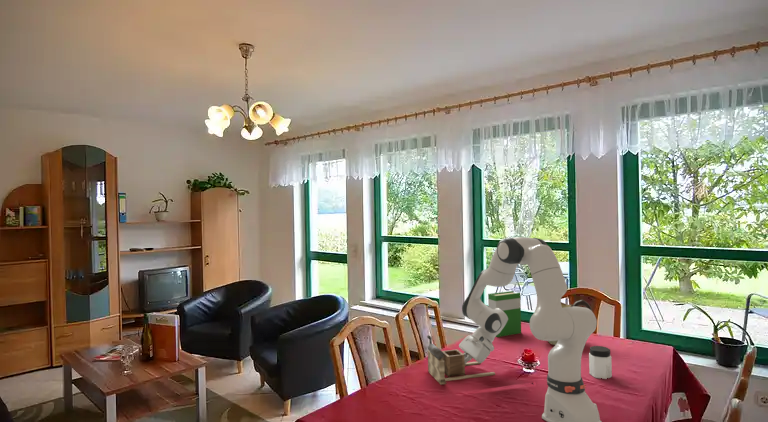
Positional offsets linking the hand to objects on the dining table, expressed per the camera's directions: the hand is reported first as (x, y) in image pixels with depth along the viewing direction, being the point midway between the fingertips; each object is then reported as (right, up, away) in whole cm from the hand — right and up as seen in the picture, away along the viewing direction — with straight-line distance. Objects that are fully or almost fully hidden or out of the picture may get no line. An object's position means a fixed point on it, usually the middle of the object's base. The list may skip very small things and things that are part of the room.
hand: (462, 362), depth 204 cm
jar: (+60, -4, -6) cm, 61 cm away
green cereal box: (+37, -4, +62) cm, 72 cm away
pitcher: (+62, -3, +42) cm, 75 cm away
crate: (-4, -4, -1) cm, 6 cm away
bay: (-1, -5, 0) cm, 5 cm away
